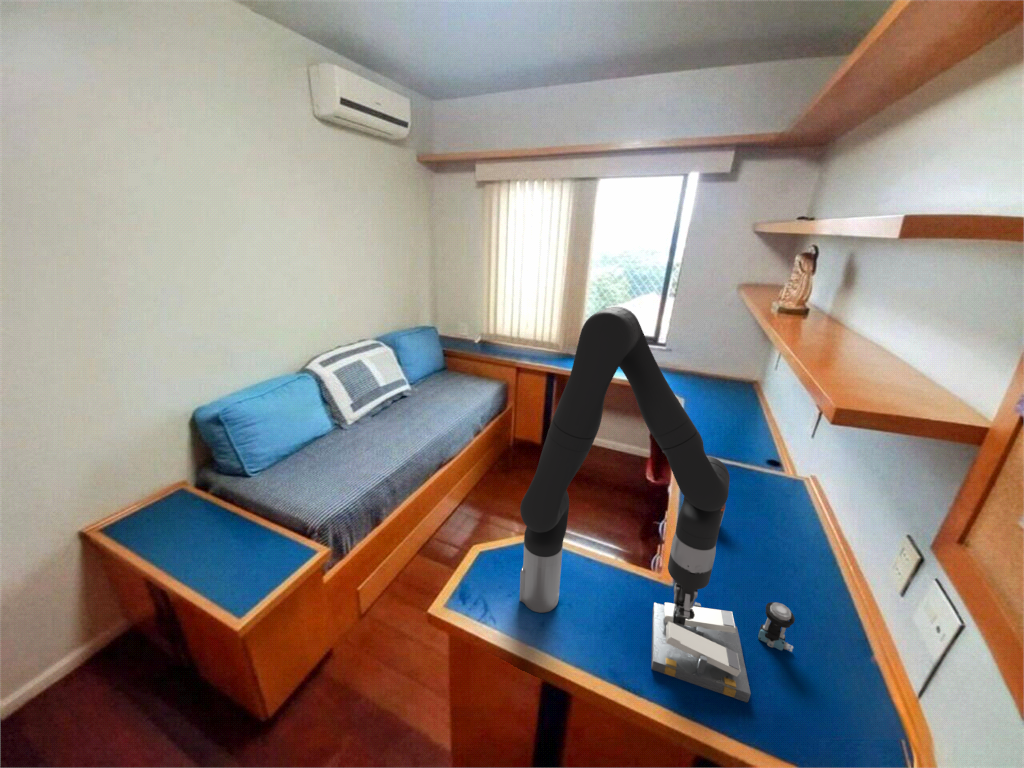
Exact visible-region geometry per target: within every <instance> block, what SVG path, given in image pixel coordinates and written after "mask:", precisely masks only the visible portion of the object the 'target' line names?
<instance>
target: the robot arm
mask: <svg viewBox="0 0 1024 768" xmlns="http://www.w3.org/2000/svg"><path fill="white" fill-rule="evenodd" d="M618 369H620V370H621V372H622V373H623V374H624V376H625V378H626V379H627V382H628V383H629V386H630V388H631V391H632V392H633V394H634V397H635V400H636V403H637V407H638V408H639V410H640V414H641V416H642V419H643V421H644V422H645V425H646V426H647V428H648V430H649V433H650V434H651V436H652V437H653V438H654V440H655V442H656V444H657V445H658V446H659V448H660V449H661V451H662V452H663V454H664V455H665V457H666V459H667V462H668V465H669V467H670V469H671V473H672V475H673V476H674V480H675V483H677V484H676V485H677V486H678V489H679V490H680V492H681V494H682V495H683V500H682V504H681V508H680V510H679V513H678V518H677V521H676V528H675V532H674V534H673V537H672V541H671V546H670V552H669V558H668V564H667V571H668V574H669V575H670V577H671V578H672V579H673V580H674V584H673V585H674V586H673V595H674V596H673V604H675V606H674V612H673V623H675V624H678V625H681V626H684V625H685V620H686V619H688V620H691V619H694V616H695V614H694V611H693V609H691V608H693V606H694V604H695V601H696V599H697V598H698V593H699V592H698V591H699V590H702V589H704V588H706V587H707V586H708V585H709V583H710V580H711V574H712V571H713V567H714V562H715V557H716V551H717V550H716V548H717V547H716V546H717V542H718V538H719V534H720V528H721V525H720V514H721V509H722V507H723V506H724V504H725V505H726V502H727V500H728V498H729V492H730V491H729V489H730V480H731V478H730V477H731V476H730V473H729V470H728V468H727V466H726V465H725V464H724V463H723V462H722V461H721V460H720V459H718V458H715V457H712V456H707V454H706V452H705V449H704V448H705V447H704V440H703V438H702V435H701V434H700V432H699V430H698V429H697V427H696V425H695V423H694V422H693V421H692V419H691V418H690V416H689V415H688V413H687V411H686V410H685V409H684V407H683V405H682V403H680V401H679V399H678V398H677V396H676V394H675V393H674V391H673V389H672V388H671V386H670V384H669V383H668V381H667V379H666V377H665V376H664V374H663V372H662V370H661V368H660V366H659V364H658V362H657V360H656V359H655V357H654V354H653V353H652V350H651V348H650V346H649V343H648V341H647V339H646V336H645V334H644V331H643V329H642V326H641V324H640V321H639V319H638V318H637V316H636V315H635V314H634V313H633V312H632V311H631V310H629V309H627V308H625V307H623V306H610V307H608V308H603V309H602V310H600V311H597V312H595V313H594V314H591V316H590V317H589V318H587V319H586V321H585V322H584V324H583V326H582V328H581V331H580V334H579V337H578V342H577V346H576V350H575V355H574V358H573V363H572V367H571V370H570V374H569V377H568V380H567V382H566V385H565V386H564V387H565V388H564V390H563V391H562V394H561V396H560V399H559V401H558V405H557V407H556V409H555V412H554V414H553V417H552V419H551V423H550V425H549V429H548V431H547V435H546V438H545V440H544V444H543V447H542V451H541V453H540V457H539V461H538V464H537V468H536V472H535V474H534V477H533V479H532V480H531V483H530V485H529V487H528V488H527V491H526V492H525V494H524V495H523V498H522V500H521V503H520V507H519V508H520V509H519V510H520V512H519V513H520V516H521V519H522V522H523V524H525V526H526V527H525V530H524V535H523V536H524V537H523V564H522V566H521V567H522V568H521V569H520V573H519V574H520V576H519V602H521V603H523V604H525V606H526V608H528V609H529V610H531V611H532V612H535V613H543V614H544V613H549V612H551V611H553V610H554V609H555V608H556V606H557V605H558V602H559V598H560V597H559V596H560V584H561V573H562V572H561V571H562V560H563V559H562V558H563V544H564V539H565V536H566V533H567V528H568V521H569V520H568V519H569V511H570V498H569V493H568V487H569V486H570V484H571V482H572V481H573V479H574V477H576V474H577V473H578V472H579V470H580V468H581V467H582V465H583V464H584V462H585V460H586V458H587V457H588V454H589V452H590V450H591V449H592V446H593V444H594V441H595V439H596V437H597V435H598V432H599V429H600V427H601V423H602V418H603V412H604V406H605V405H604V403H605V399H606V398H605V397H606V395H607V391H608V389H609V387H610V384H611V382H612V381H613V378H614V377H615V374H616V372H617V370H618Z"/></svg>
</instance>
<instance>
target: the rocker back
mask: <svg viewBox="0 0 1024 768" xmlns="http://www.w3.org/2000/svg"><path fill="white" fill-rule="evenodd" d="M664 605H665V622H667V623H668V622H671V623H673V612H674V606H675V603H674V602H673V603H672V602H664ZM691 609H693V611H694V614H695V616H694V619H691V620H688V619H686V620H685V625H686V626H692V627H697V626H699V627H703V628H705V629H711V630H718V631H724V632H730V633H735V626H736V623H735V619H734V615H733V611H730V610H723V609H716V608H708V607H702V606H701V607H695V606H694V605H693V608H691ZM674 624H675V623H674Z"/></svg>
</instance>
